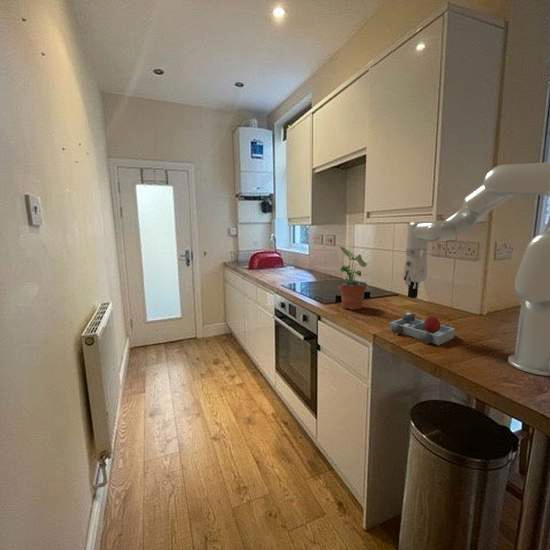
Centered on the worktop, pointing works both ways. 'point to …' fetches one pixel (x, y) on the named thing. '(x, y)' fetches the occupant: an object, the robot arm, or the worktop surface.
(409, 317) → the spare wheel
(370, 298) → the worktop surface
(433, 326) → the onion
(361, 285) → the potted plant
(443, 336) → the chassis
